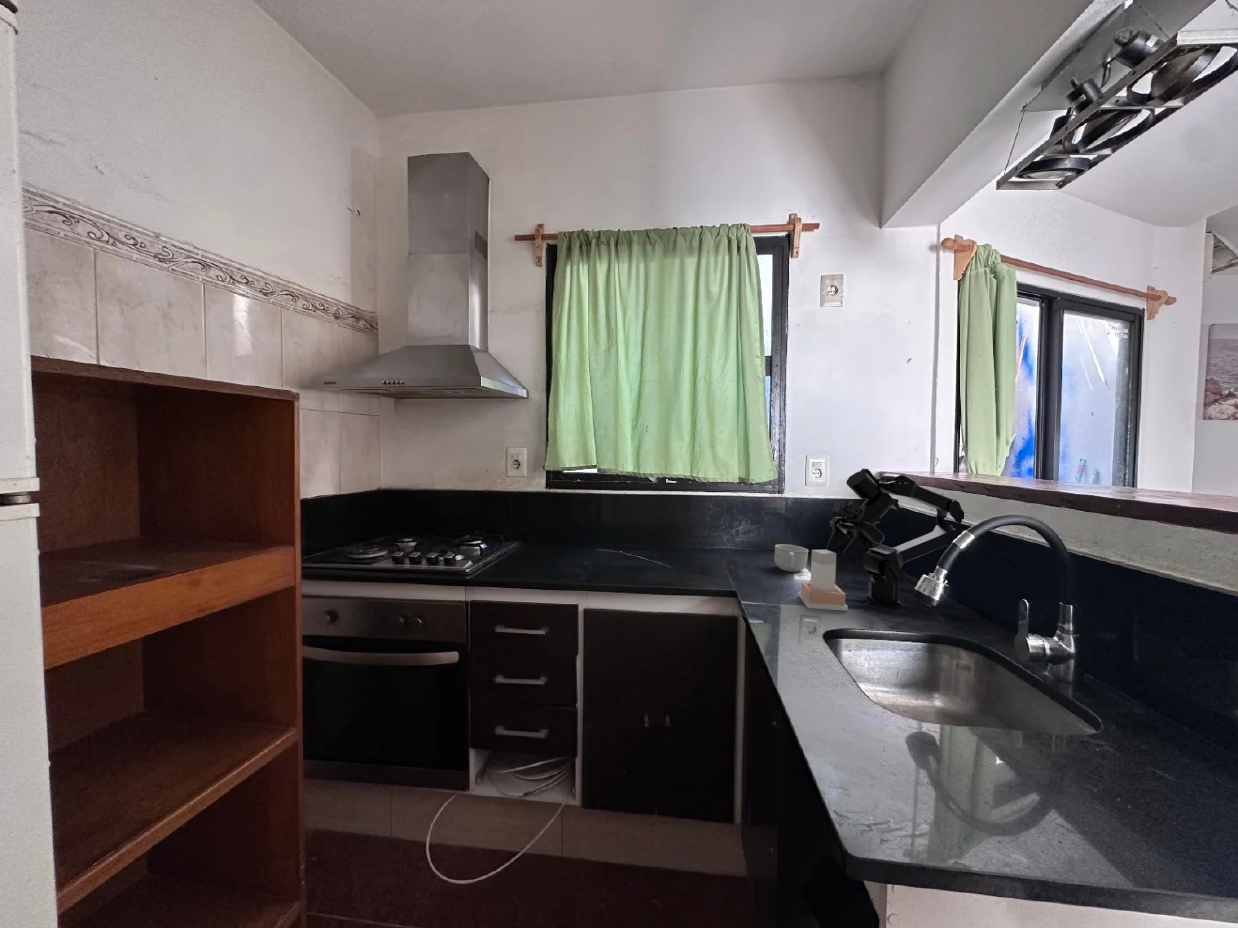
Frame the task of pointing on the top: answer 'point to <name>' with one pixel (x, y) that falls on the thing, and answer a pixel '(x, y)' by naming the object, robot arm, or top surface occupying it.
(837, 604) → the socket
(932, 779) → the top surface
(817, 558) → the plug
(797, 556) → the teacup
